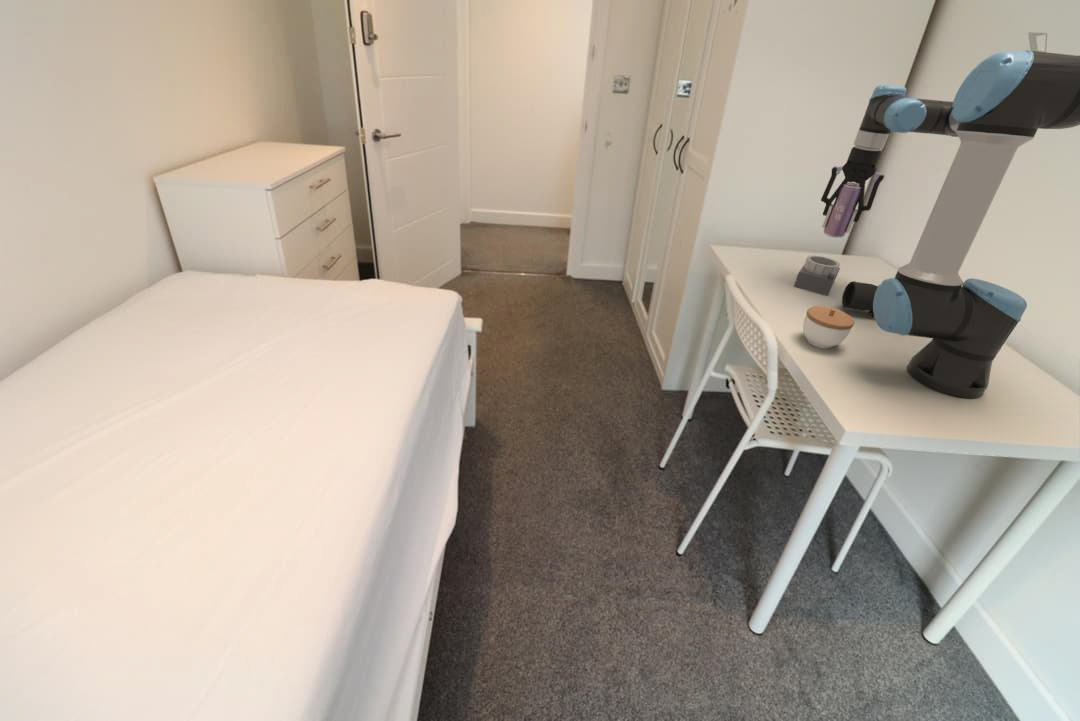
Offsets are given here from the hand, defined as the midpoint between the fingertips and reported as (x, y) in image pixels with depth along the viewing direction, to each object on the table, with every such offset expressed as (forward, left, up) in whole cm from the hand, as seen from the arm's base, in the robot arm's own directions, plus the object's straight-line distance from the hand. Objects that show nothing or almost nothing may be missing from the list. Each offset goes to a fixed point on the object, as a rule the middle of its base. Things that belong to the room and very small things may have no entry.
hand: (835, 228), depth 154 cm
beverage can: (0, 0, -2) cm, 2 cm away
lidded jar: (-42, -8, -18) cm, 47 cm away
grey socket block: (0, 0, -18) cm, 18 cm away
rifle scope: (-11, -22, -18) cm, 31 cm away
